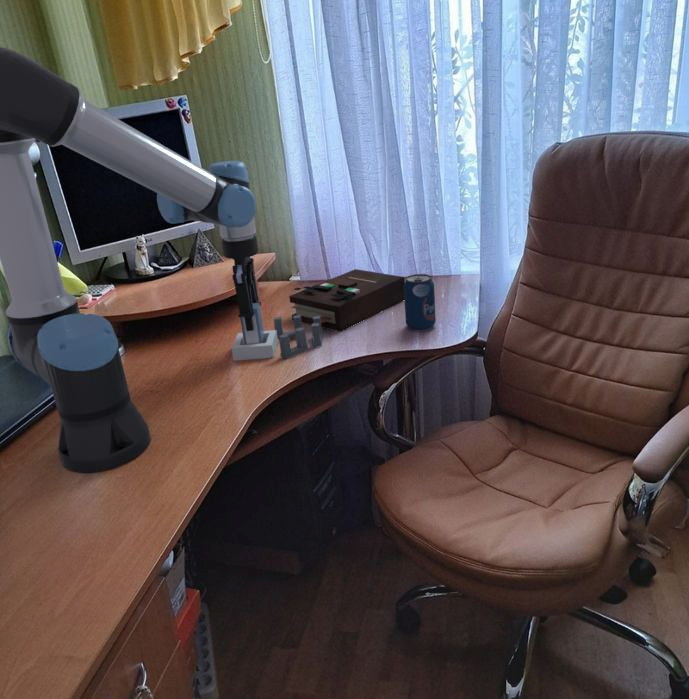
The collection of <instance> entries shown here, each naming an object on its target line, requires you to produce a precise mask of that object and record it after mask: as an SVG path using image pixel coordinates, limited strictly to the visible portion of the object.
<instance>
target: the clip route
mask: <svg viewBox="0 0 689 699" xmlns="http://www.w3.org/2000/svg"><path fill="white" fill-rule="evenodd" d="M282 320H283V319H282V316H275V317H274V318H273V326H274V330H277V337H278V344H279V349H280V358H281V357H282V358H283V359H284V358H285V359H284V360H288V359H289V358H292V357H294V356H297V355H299V354H300V353H303V352H305V350H306V351H308V350H309V347H308V344H307V343H308V342H307V337H306V335H307V334H306V329H305V328H303V325H302V324H303V322H301V315H296V316H294V317H293V320H292V321H293V326H294V327H293V328H294V331H284V328H283V321H282ZM322 328H323V327H321V319H320V316H314V317H313V324H312V325H311V332H312V341H313V342H312V345H313V348H317V346H320V347H322V346H323V345H322V344H323V338H324V337H323V336H324V335H323V330H322ZM291 339H295V341H296V342H295V343H296V345H295V346H293V347H291V341H290V340H291ZM282 358H281V359H282Z"/></svg>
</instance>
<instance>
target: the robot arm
mask: <svg viewBox="0 0 689 699" xmlns="http://www.w3.org/2000/svg"><path fill="white" fill-rule="evenodd" d="M35 141H39V142H41V143H42V144H43V143H44V144H45V145H47V146H49V147H53V148H54V147H57V146H61V145H62V146H64V147H66V148H68V149H70V150H71V151H74V152H76V153H78V154H80V155H82V156H84V157H86V158H88V159H90V160H92V161H94V162H96V163H97V164H99V165H101V166H104V167H105V168H107V169H110V171H111V170H112V171H114V172H116V173H117V174H119V175H121V176H123V177H125V178H128V179H129V180H132V181H133V182H135V183H137V184H139V185H141V186H143V187H145V188H147V189H148V190H151V191H153V192H154V193H156V194H157V195H156V202H157V206H158V211H159V212H160V214H161V216H162V218H163V219H164V220H165V222H167V223H169V224H171V225H172V224H180V223H181V224H184V223H185V222H188V221H193V222H195V221H196V222H199V223H200V222H201V223H207V224H213V225H215V227H216V228H219V236H220V238H221V239H222V240H221V243H220V244H221V249H222V255H223V256H224V258H226V259H231V260H234V263H233V264H234V265H232V273H233V274H232V280H233V284H234V289H235V294H236V300H237V306H238V312H239V313H240V314H238V318H240V317H242V318H243V324H244V330H245V336H246V342H247V344H251V343H259V337H258V331H257V324H256V318H255V314H254V312H253V304H252V303H260V307H261V306H262V301H259V294H258V288H257V281H256V274H255V265H254V262H255V260H254V258H253V256H255V255H257V254H258V253H259V246H258V238H257V236H256V235H255V234H256V232H257V229H256V221H255V216H256V212H257V200H256V198H255V195H254V193H253V192H252V190H250V180H249V176H248V171H247V167H246V165H245V163H244V162H243V161H241V160H226V161H220V162H215V163H211V164H210V165H209V168H208V170H206V169H204V168H203V167H201V166H200V165H198V164H196V163H194V162H193V161H191V160H189V159H188V158H186V157H184V156H183V155H181V154H179V153H177V152H176V151H173V150H172V149H170V148H168V147H166V146H165V145H163V144H161V143H160V142H159V141H156V140H155V139H153V138H151V137H150V136H148V135H146V134H144V133H143V132H141V131H139V130H138V129H136V128H134V127H133V126H130V125H129V124H127V123H125V122H124V121H122V120H121V119H119V118H117V117H115V116H113V115H111V114H110V113H108V112H106V111H105V110H103V109H101V108H100V107H98V106H96V105H94V104H92V103H91V102H89V101H87V100H86V99H84V98H83V94H82V92H81V89H80V88H78V87H77V86H75V85H74V84H72V83H70V82H68V81H67V80H65V79H64V78H62V77H61V76H59V75H57V74H56V73H54V72H52V71H51V70H49V69H47V68H45V67H44V66H43V65H41V64H39V63H37V62H35V60H32V59H31V58H29V57H27V56H25V55H24V54H21V53H19V52H17V51H15V50H13V49H9V48H7V47H2V46H0V263H1V267H2V270H3V273H4V277H5V280H6V284H7V287H8V291H9V293H10V298H11V302H10V304H9V306H8V307H7V309H6V310H5V315H6V318H7V322H8V326H9V328H8V331H7V344H8V347H9V350H10V352H11V354H12V356H13V358H14V359H15V360H16V362H18V363H19V364H20V366H21V367H23V368H24V369H26V371H29V372H31V373H32V374H34V375H36V376H37V377H39V378H41V380H43V381H45V382H46V383H47V384H48V385H49V386H50V388H51V392H52V395H53V398H54V402H55V406H56V409H57V412H58V415H59V421H60V422H59V435H58V444H57V445H58V447H57V449H58V451H57V452H58V455H59V459H60V461H61V462H60V463H61V465H62V466H63V467H64V468H66V469H67V470H69V471H72V472H77V473H96V472H101V471H103V472H104V471H107V470H110V469H114V468H118V467H120V466H122V465H124V464H126V463H128V462H131V461H133V460H134V459H135V458H138V457H140V456H141V454H142V453H144V452H145V451H146V449H148V447H149V446H150V444H151V441H152V437H151V433H150V429H149V425H148V424H147V421H145V419H144V417H143V416H142V415H141V413H140V411H139V410H138V409H137V407H136V406H135V404H134V403H133V402H132V399H131V396H130V395H131V394H130V391H129V387H128V383H127V378H126V374H125V369H124V365H123V361H122V357H121V352H120V349H119V340H118V337H117V335H116V334H115V331H114V328H113V326H112V324H111V322H110V321H109V320H107V319H106V318H105V317H103V316H101V315H99V314H94V313H87V314H85V313H81V312H80V308H79V305H78V304H79V303H78V299H77V297H76V296H74V295H73V294H72V293H69V292H68V291H66V290H65V286H64V283H63V279H62V275H61V271H60V267H59V263H58V260H57V256H56V253H55V252H56V251H55V248H54V244H53V240H52V236H51V233H50V232H51V231H50V229H49V225H48V221H47V217H46V214H45V209H44V205H43V202H42V198H41V194H40V190H39V186H38V182H37V179H36V176H35V172H34V171H35V170H34V168H33V164H32V160H31V156H30V149H31V147H32V145H33V144H34V142H35Z"/></svg>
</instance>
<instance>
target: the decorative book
mask: <svg viewBox="0 0 689 699" xmlns="http://www.w3.org/2000/svg"><path fill="white" fill-rule="evenodd" d="M405 282H406V279H405V276H400V275H395V274H388V273H382V272H375V271H369V270H364V269H363V270H362V269H357V268H355V269H352V270H350V271H348V272H345V273H343V274H340V275H338V276H334V277H332V278H330V279H328V280H325V281H323V282H320V283H318V284H314V285H313V286H308V285H305V286H304V287H294V288H293V289H292V290H294V291H299V292H296V293H293V294H291V295H289V296H288V297H289V303H291V304H294V305H293V306H292V307H291V306H290V308H291V309H294V310H295V313H294V314H291V319H292V321H294V320H293V317H294V316H296V315H301V323H302V324H307V325H311V326H312V324H313V317H314V316H320V319H321V328H323V327H324V329H327V328H328V330H331V329H333V330H332V331H335V330H337V331H336V332H340V331H342V332H344V331H345V330H348V329H350V328H352V327H354V326H356V325H358V324H360V323H362V322H364V321H366V320H368V319H370V318H373V317H374V315H375V316H376V314H377V315H379V314H380V312H381V311H383V312H385V311H387V310H388V308H389V309H390V307H391V308H393V307H395V306H397V305H399V304H400V303H399V302H401V301H403V300H405V299H404V284H405ZM302 289H303V290H302ZM300 290H301V291H300ZM403 302H404V301H403ZM398 303H399V304H398ZM401 303H402V302H401ZM396 304H397V305H396ZM394 305H395V306H394ZM392 306H393V307H392ZM386 309H387V310H386ZM384 310H385V311H384ZM378 313H379V314H378ZM381 313H382V312H381ZM372 316H373V317H372ZM363 320H364V321H363ZM361 321H362V322H361ZM359 322H360V323H359ZM357 323H358V324H357ZM355 324H356V325H355ZM353 325H354V326H353ZM351 326H352V327H351ZM349 327H350V328H349ZM347 328H348V329H347ZM343 330H344V331H343Z"/></svg>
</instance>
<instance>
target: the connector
mask: <svg viewBox="0 0 689 699" xmlns="http://www.w3.org/2000/svg"><path fill="white" fill-rule="evenodd" d="M252 304H253V312H254V314H255V318H256V324H257V331H258V337H259V343H262V341H263V338H264V331H265V330H264V326H263V319H262V311H261V310H262V309H261V306H260V303H252ZM239 314H240V313H239ZM239 314H238V315H239ZM239 319H240V324H241V325H240V326H241V333H243V339H244V344H247V342H246V336H245V330H244V324H243V318H242V317H239Z"/></svg>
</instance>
